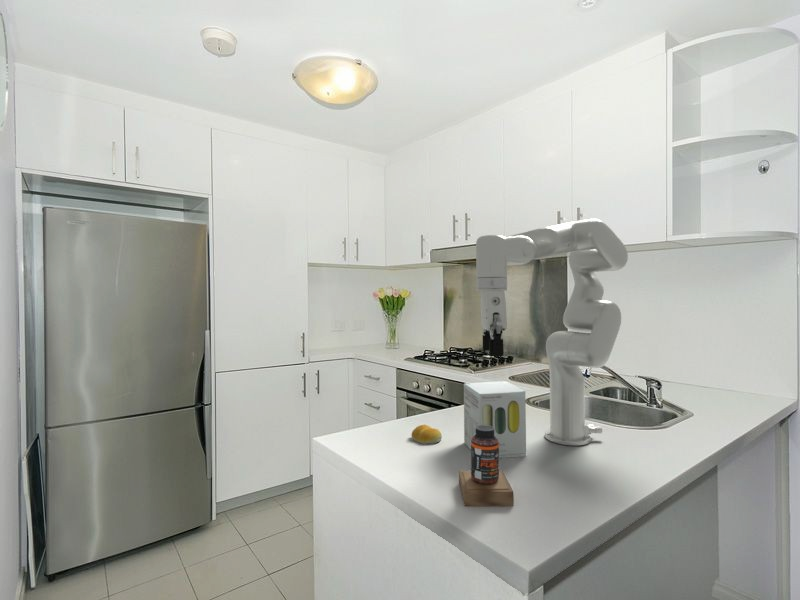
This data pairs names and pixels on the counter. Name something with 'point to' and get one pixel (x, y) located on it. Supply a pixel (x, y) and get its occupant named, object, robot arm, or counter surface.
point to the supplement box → (497, 415)
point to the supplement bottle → (485, 455)
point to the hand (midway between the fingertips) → (492, 353)
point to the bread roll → (426, 434)
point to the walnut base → (485, 491)
